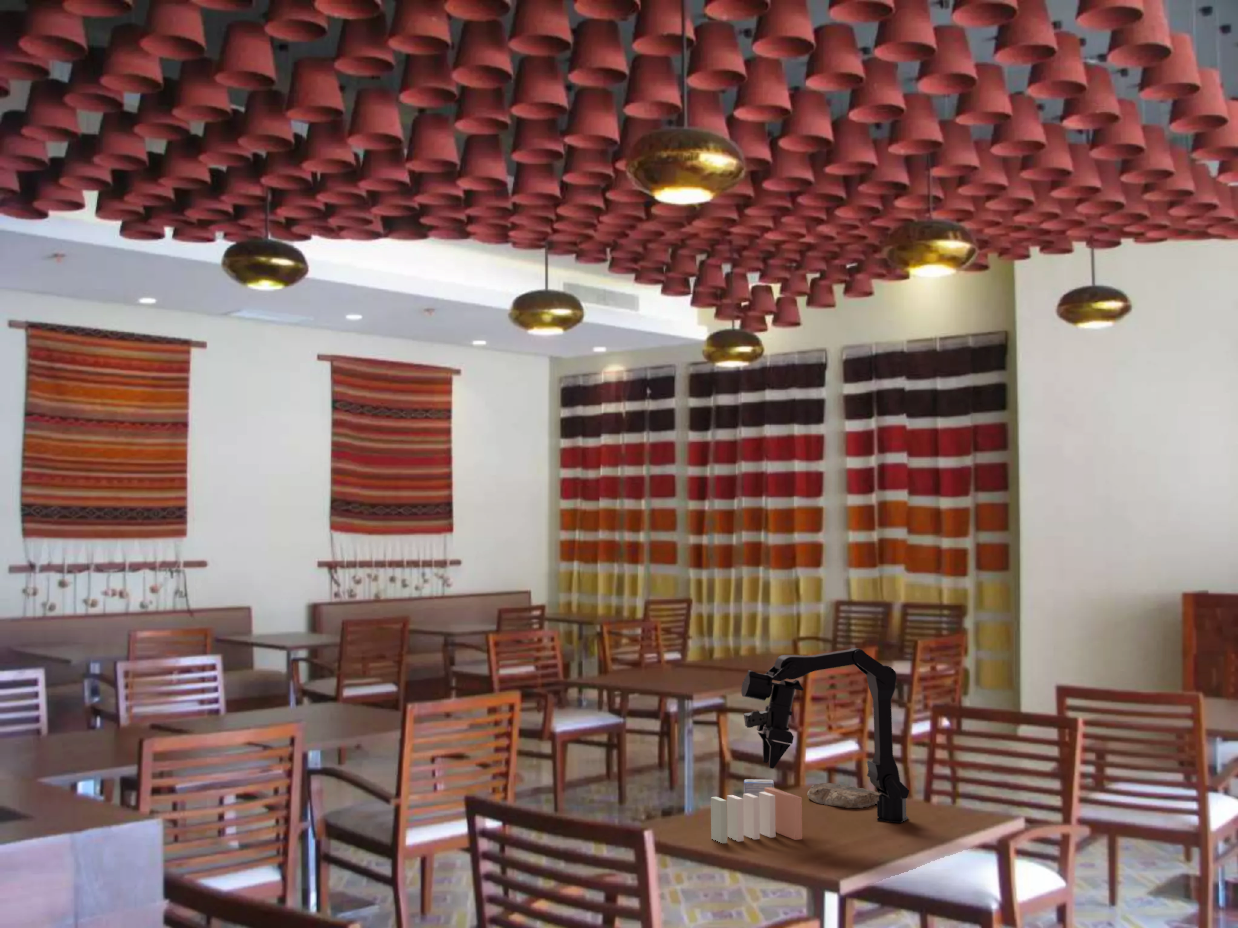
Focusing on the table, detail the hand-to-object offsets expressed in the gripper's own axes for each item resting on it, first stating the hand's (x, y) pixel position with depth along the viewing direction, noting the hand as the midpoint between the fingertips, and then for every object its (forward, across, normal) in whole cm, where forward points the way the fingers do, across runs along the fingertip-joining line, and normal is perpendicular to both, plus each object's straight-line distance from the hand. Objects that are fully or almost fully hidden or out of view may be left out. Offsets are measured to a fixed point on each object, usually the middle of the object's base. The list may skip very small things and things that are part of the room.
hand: (768, 765), depth 317 cm
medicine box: (+15, -14, +3) cm, 21 cm away
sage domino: (+18, +14, -11) cm, 26 cm away
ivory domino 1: (+17, +13, -7) cm, 23 cm away
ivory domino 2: (+16, +11, -3) cm, 20 cm away
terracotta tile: (+15, +8, +6) cm, 17 cm away
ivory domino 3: (+16, +9, +1) cm, 18 cm away
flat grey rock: (+9, -28, +27) cm, 40 cm away
